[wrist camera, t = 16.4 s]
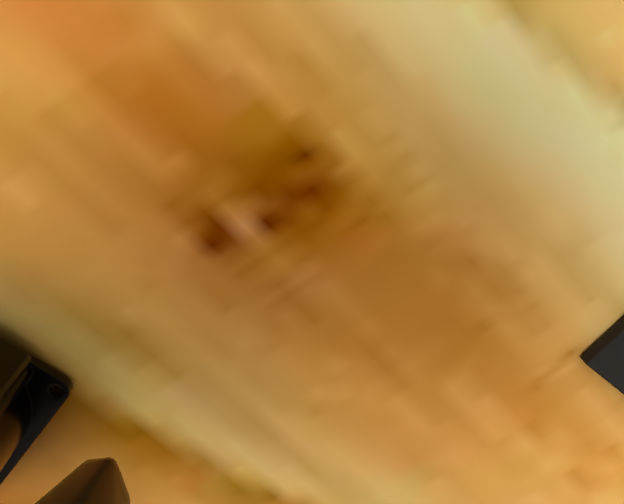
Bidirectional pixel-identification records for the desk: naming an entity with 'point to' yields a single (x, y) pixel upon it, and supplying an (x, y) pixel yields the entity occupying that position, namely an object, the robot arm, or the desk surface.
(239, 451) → the desk surface
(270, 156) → the desk surface
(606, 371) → the desk pad
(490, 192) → the desk surface
